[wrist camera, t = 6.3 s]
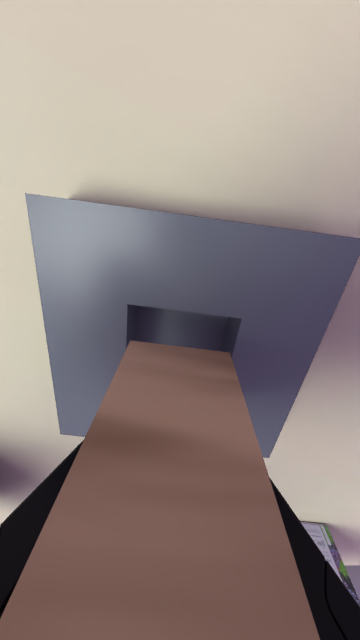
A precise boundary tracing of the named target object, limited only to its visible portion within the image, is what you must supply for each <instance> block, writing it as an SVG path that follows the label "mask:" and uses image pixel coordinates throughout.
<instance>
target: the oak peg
mask: <svg viewBox="0 0 360 640" xmlns="http://www.w3.org/2000/svg"><path fill="white" fill-rule="evenodd" d="M0 640H320V638H319V635H318V632H317V629H316V625H315V622H314V619H313V616H312V613H311V609H310V606H309V603H308V600H307V597H306V593H305V590H304V587H303V584H302V581H301V578H300V574H299V571H298V568H297V565H296V562H295V558H294V555H293V552H292V549H291V546H290V542H289V539H288V536H287V533H286V530H285V527H284V523H283V520H282V517H281V514H280V511H279V507H278V504H277V501H276V498H275V495H274V491H273V488H272V485H271V482H270V479H269V475H268V472H267V469H266V466H265V463H264V460H263V456H262V453H261V450H260V447H259V444H258V440H257V437H256V434H255V431H254V428H253V424H252V421H251V418H250V415H249V412H248V409H247V405H246V402H245V399H244V396H243V393H242V389H241V386H240V383H239V380H238V377H237V373H236V370H235V367H234V364H233V361H232V358H231V354H230V353H229V352H221V351H213V350H205V349H197V348H188V347H180V346H172V345H164V344H156V343H148V342H139V341H131V340H130V342H129V345H128V347H127V349H126V351H125V353H124V355H123V357H122V360H121V362H120V364H119V366H118V368H117V370H116V372H115V374H114V377H113V379H112V381H111V383H110V385H109V387H108V389H107V392H106V394H105V396H104V398H103V400H102V402H101V404H100V407H99V409H98V411H97V413H96V415H95V417H94V419H93V422H92V424H91V426H90V428H89V430H88V432H87V434H86V437H85V439H84V441H83V443H82V445H81V447H80V449H79V452H78V454H77V456H76V458H75V460H74V462H73V464H72V466H71V469H70V471H69V473H68V475H67V477H66V479H65V481H64V484H63V486H62V488H61V490H60V492H59V494H58V496H57V499H56V501H55V503H54V505H53V507H52V509H51V511H50V514H49V516H48V518H47V520H46V522H45V524H44V526H43V529H42V531H41V533H40V535H39V537H38V539H37V541H36V544H35V546H34V548H33V550H32V552H31V554H30V556H29V558H28V561H27V563H26V565H25V567H24V569H23V571H22V573H21V576H20V578H19V580H18V582H17V584H16V586H15V588H14V591H13V593H12V595H11V597H10V599H9V601H8V603H7V606H6V608H5V610H4V612H3V614H2V616H1V618H0Z"/></svg>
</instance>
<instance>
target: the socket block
mask: <svg viewBox="0 0 360 640" xmlns="http://www.w3.org/2000/svg"><path fill="white" fill-rule="evenodd" d="M25 196H26V203H27V209H28V216H29V223H30V230H31V237H32V243H33V250H34V257H35V264H36V271H37V277H38V284H39V291H40V298H41V305H42V312H43V318H44V325H45V332H46V339H47V346H48V352H49V359H50V366H51V373H52V380H53V386H54V393H55V400H56V407H57V414H58V420H59V427H60V434H64V435H73V436H81V437H86V434H87V432H88V430H89V428H90V426H91V424H92V422H93V419H94V417H95V415H96V413H97V411H98V409H99V407H100V404H101V402H102V400H103V398H104V396H105V394H106V392H107V389H108V387H109V385H110V383H111V381H112V379H113V377H114V374H115V372H116V370H117V368H118V366H119V364H120V362H121V360H122V357H123V355H124V353H125V351H126V349H127V347H128V345H129V342H130V340H131V341H139V342H148V343H156V344H164V345H172V346H180V347H188V348H197V349H205V350H213V351H221V352H229V353H230V354H231V358H232V361H233V364H234V367H235V370H236V373H237V377H238V380H239V383H240V386H241V389H242V393H243V396H244V399H245V402H246V405H247V409H248V412H249V415H250V418H251V421H252V424H253V428H254V431H255V434H256V437H257V440H258V444H259V447H260V450H261V453H262V456H263V457H266V458H269V457H270V454H271V452H272V450H273V448H274V445H275V443H276V441H277V439H278V436H279V434H280V432H281V430H282V428H283V425H284V423H285V421H286V419H287V416H288V414H289V412H290V410H291V407H292V405H293V403H294V401H295V398H296V396H297V394H298V392H299V389H300V387H301V385H302V383H303V381H304V378H305V376H306V374H307V372H308V369H309V367H310V365H311V363H312V360H313V358H314V356H315V354H316V351H317V349H318V347H319V345H320V342H321V340H322V338H323V336H324V334H325V331H326V329H327V327H328V325H329V322H330V320H331V318H332V316H333V313H334V311H335V309H336V307H337V304H338V302H339V300H340V298H341V295H342V293H343V291H344V289H345V287H346V284H347V282H348V280H349V278H350V275H351V273H352V271H353V269H354V266H355V264H356V262H357V260H358V257H359V255H360V238H352V237H345V236H337V235H330V234H323V233H315V232H308V231H300V230H293V229H286V228H278V227H271V226H264V225H256V224H249V223H241V222H234V221H227V220H219V219H212V218H204V217H197V216H190V215H182V214H175V213H167V212H160V211H153V210H145V209H138V208H131V207H123V206H116V205H108V204H101V203H94V202H86V201H79V200H71V199H64V198H57V197H49V196H42V195H35V194H27V193H25Z"/></svg>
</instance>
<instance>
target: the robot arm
mask: <svg viewBox="0 0 360 640" xmlns="http://www.w3.org/2000/svg"><path fill="white" fill-rule="evenodd" d="M83 441H84V440H83ZM83 441H82V442H81V443H80V444H79V445H78V446H77V447H76V448H75V449H74V450H73V451H72V452H71V453H70V454H69V455H68V456H67V457H66V458H65V459H64V461H63V462H62V463H61V464H60V465H59V466H58V467H57V468H56V469H55V470H54V471H53V472H52V473H51V474H50V475H49V476H48V477H47V478H46V479H45V480H44V481H43V482H42V483H41V484H40V485H39V486H38V487H37V488H36V489H35V490H34V491H33V492H32V493H31V494H30V495H29V496H28V497H27V498H26V499H25V500H24V501H23V502H22V503H21V504H20V505H19V506H18V507H17V508H16V509H15V510H14V511H13V512H12V513H11V514H10V515H9V516H8V518H7V519H6V520H5V521H4V522H3V523H2V524H1V525H0V618H1V616H2V614H3V612H4V610H5V608H6V606H7V603H8V601H9V599H10V597H11V595H12V593H13V591H14V588H15V586H16V584H17V582H18V580H19V578H20V576H21V573H22V571H23V569H24V567H25V565H26V563H27V561H28V558H29V556H30V554H31V552H32V550H33V548H34V546H35V544H36V541H37V539H38V537H39V535H40V533H41V531H42V529H43V526H44V524H45V522H46V520H47V518H48V516H49V514H50V511H51V509H52V507H53V505H54V503H55V501H56V499H57V496H58V494H59V492H60V490H61V488H62V486H63V484H64V481H65V479H66V477H67V475H68V473H69V471H70V469H71V466H72V464H73V462H74V460H75V458H76V456H77V454H78V452H79V449H80V447H81V445H82V443H83ZM269 479H270V478H269ZM270 482H271V485H272V488H273V491H274V495H275V498H276V501H277V504H278V507H279V511H280V514H281V517H282V520H283V523H284V527H285V530H286V533H287V536H288V539H289V542H290V546H291V549H292V552H293V555H294V558H295V562H296V565H297V568H298V571H299V574H300V578H301V581H302V584H303V587H304V590H305V593H306V597H307V600H308V603H309V606H310V609H311V613H312V616H313V619H314V622H315V625H316V629H317V632H318V635H319V638H320V640H360V606H359V604H358V603H357V602H356V600H355V599H354V598H353V596H352V595H351V593H350V592H349V591H348V589H347V588H346V586H345V585H344V584H343V582H342V581H341V579H340V578H339V577H338V575H337V574H336V572H335V571H334V569H333V568H332V567H331V565H330V564H329V562H328V561H327V560H325V557H324V555H323V554H322V552H321V551H320V549H319V548H318V547H317V545H316V544H315V542H314V541H313V539H312V538H311V537H310V535H309V534H308V532H307V531H306V529H305V528H304V526H303V525H302V524H301V522H300V521H299V519H298V518H297V516H296V515H295V514H294V512H293V511H292V509H291V508H290V506H289V505H288V503H287V502H286V501H285V499H284V498H283V496H282V495H281V493H280V492H279V491H278V489H277V488H276V486H275V485H274V483H273V482H272V480H271V479H270Z"/></svg>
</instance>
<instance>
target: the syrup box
mask: <svg viewBox="0 0 360 640" xmlns="http://www.w3.org/2000/svg"><path fill="white" fill-rule="evenodd" d="M301 524H302V525H303V526H304V528H305V529H306V531H307V532H308V534H309V535H310V537H311V538H312V539H313V541H314V542H315V544H316V545H317V547H318V548H319V549H320V551H321V552H322V554H323V555H324V557H325V560H327V561H328V562H329V564H330V565H331V567H332V568H333V569H334V571H335V572H336V574H337V575H338V577H339V578H340V579H341V581H342V582H343V584H344V585H345V586H346V588H347V589H348V591H349V592H350V593H351V595H352V596H353V598H354V599H355V600H356V602H357V603H358V604H359V606H360V601H359V599H358V596H357V594H356V592H355V589H354V587H353V585H352V583H351V580H350V578H349V576H348V573H347V571H346V569H345V566H344V564H343V562H342V559H341V557H340V555H339V553H338V550H337V548H336V546H335V543H334V541H333V539H332V536H331V534H330V532H329V529H328V527H327V526H326V525H325V524H317V523H307V522H301Z"/></svg>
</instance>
